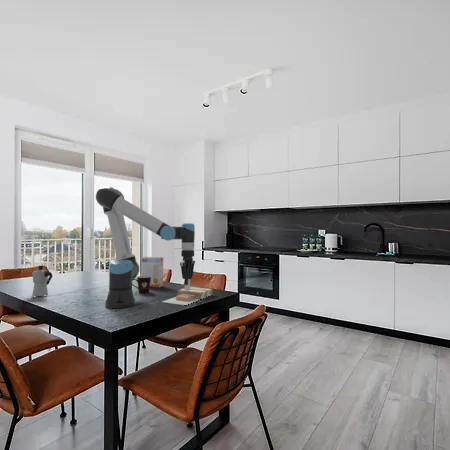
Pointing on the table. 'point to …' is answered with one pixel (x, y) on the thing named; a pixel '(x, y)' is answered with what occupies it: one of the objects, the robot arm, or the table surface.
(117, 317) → the table surface
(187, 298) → the coaster
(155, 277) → the cracker box
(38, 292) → the coffee maker
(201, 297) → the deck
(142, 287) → the coffee mug
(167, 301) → the mat
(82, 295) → the table surface
